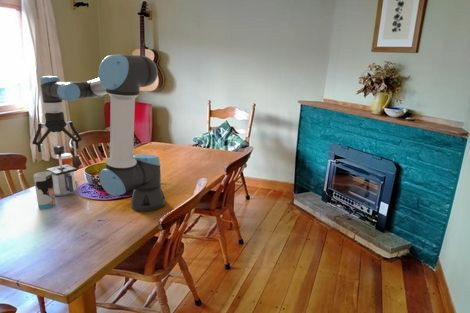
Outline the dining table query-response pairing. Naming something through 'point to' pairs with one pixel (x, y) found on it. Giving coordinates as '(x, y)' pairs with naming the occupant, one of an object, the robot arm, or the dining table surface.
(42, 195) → the cup
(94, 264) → the dining table surface
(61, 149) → the plunger
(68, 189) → the lidded canister
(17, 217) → the dining table surface
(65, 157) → the paper cup
